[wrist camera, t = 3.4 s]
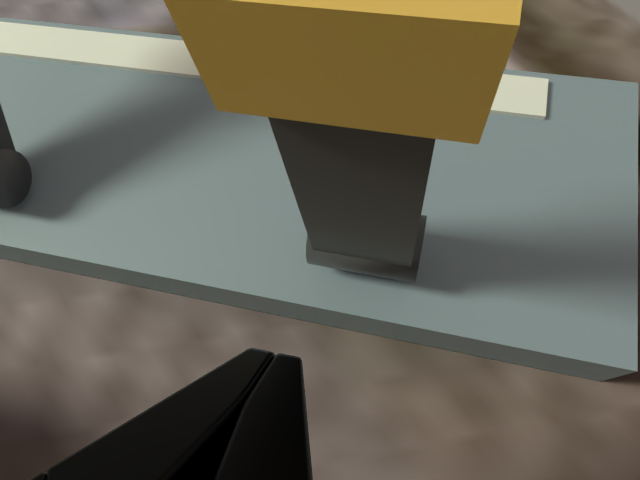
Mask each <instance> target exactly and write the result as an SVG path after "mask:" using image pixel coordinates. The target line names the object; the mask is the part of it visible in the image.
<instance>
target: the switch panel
mask: <svg viewBox="0 0 640 480" xmlns="http://www.w3.org/2000/svg"><path fill="white" fill-rule="evenodd" d="M0 104H1V107H2V110H3V113H4V116H5V119H6V122H7V125H8V129H9V132H10V135H11V138H12V141H13V144H14V147H15V150H16V151H17V152H19V153H21V154H22V155H23V156H24V157H25V158H26V159H27V161H28V163H29V165H30V168H31V172H32V182H31V187H30V190H29V192H28V194H27V196H26V197H25V199H24V200H23V201H22V202H21V203H20V204H18V205H16V206H14V207H11V208H2V207H0V258H2V259H6V260H11V261H16V262H21V263H26V264H31V265H36V266H40V267H45V268H50V269H55V270H60V271H65V272H70V273H75V274H79V275H84V276H89V277H94V278H99V279H104V280H109V281H114V282H118V283H123V284H128V285H133V286H138V287H143V288H148V289H152V290H157V291H162V292H167V293H172V294H177V295H182V296H187V297H191V298H196V299H201V300H206V301H211V302H216V303H221V304H226V305H230V306H235V307H240V308H245V309H250V310H255V311H260V312H265V313H269V314H274V315H279V316H284V317H289V318H294V319H299V320H303V321H308V322H313V323H318V324H323V325H328V326H333V327H338V328H342V329H347V330H352V331H357V332H362V333H367V334H372V335H377V336H381V337H386V338H391V339H396V340H401V341H406V342H411V343H416V344H420V345H425V346H430V347H435V348H440V349H445V350H450V351H454V352H459V353H464V354H469V355H474V356H479V357H484V358H489V359H493V360H498V361H503V362H508V363H513V364H518V365H523V366H528V367H532V368H537V369H542V370H547V371H552V372H557V373H562V374H566V375H571V376H576V377H581V378H586V379H591V380H596V381H604V380H608V379H611V378H615V377H619V376H623V375H626V374H630V373H634V372H638V83H634V82H624V81H614V80H605V79H595V78H585V77H575V76H566V75H556V74H546V73H536V72H527V71H517V70H507V69H504V72H503V75H502V78H501V81H500V84H499V87H498V90H497V93H496V96H495V99H494V101H493V104H492V107H491V110H490V113H489V116H488V119H487V122H486V125H485V128H484V131H483V134H482V137H481V140H480V142H479V145H478V144H470V143H463V142H455V141H447V140H440V139H436V140H435V145H434V150H433V155H432V160H431V166H430V171H429V176H428V181H427V186H426V192H425V197H424V202H423V207H422V212H421V215H426V216H427V220H426V226H425V233H424V239H423V245H422V250H421V256H420V262H419V267H418V272H417V277H416V282H415V283H411V282H405V281H400V280H394V279H389V278H383V277H378V276H372V275H367V274H362V273H356V272H351V271H345V270H340V269H334V268H329V267H323V266H318V265H312V264H308V263H307V260H306V241H307V231H306V228H305V225H304V222H303V220H302V217H301V214H300V211H299V208H298V205H297V202H296V199H295V196H294V193H293V190H292V187H291V184H290V181H289V178H288V175H287V172H286V169H285V166H284V163H283V160H282V157H281V154H280V152H279V149H278V146H277V143H276V140H275V137H274V134H273V131H272V128H271V125H270V122H269V119H268V117H263V116H256V115H248V114H240V113H233V112H225V111H217V109H216V107H215V105H214V103H213V101H212V99H211V97H210V95H209V93H208V90H207V88H206V86H205V84H204V82H203V80H202V78H201V76H200V74H199V72H198V70H197V68H196V66H195V64H194V62H193V60H192V57H191V55H190V53H189V51H188V49H187V47H186V45H185V43H184V41H183V39H182V37H181V36H176V35H167V34H157V33H147V32H138V31H128V30H118V29H108V28H99V27H89V26H79V25H69V24H60V23H50V22H40V21H31V20H21V19H11V18H1V17H0Z"/></svg>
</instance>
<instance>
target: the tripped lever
mask: <svg viewBox="0 0 640 480" xmlns="http://www.w3.org/2000/svg"><path fill="white" fill-rule="evenodd" d="M164 2H165V4H166V6H167V8H168V10H169V12H170V14H171V16H172V18H173V20H174V22H175V24H176V27H177V29H178V31H179V33H180V35H181V37H182V39H183V41H184V43H185V45H186V47H187V49H188V51H189V53H190V55H191V57H192V60H193V62H194V64H195V66H196V68H197V70H198V72H199V74H200V76H201V78H202V80H203V82H204V84H205V86H206V88H207V90H208V93H209V95H210V97H211V99H212V101H213V103H214V105H215V107H216V109H217V111H225V112H233V113H240V114H248V115H256V116H263V117H268V119H269V122H270V125H271V128H272V131H273V134H274V137H275V140H276V143H277V146H278V149H279V152H280V154H281V157H282V160H283V163H284V166H285V169H286V172H287V175H288V178H289V181H290V184H291V187H292V190H293V193H294V196H295V199H296V202H297V205H298V208H299V211H300V214H301V217H302V220H303V222H304V225H305V228H306V231H307V241H306V260H307V263H308V264H312V265H318V266H323V267H329V268H334V269H340V270H345V271H351V272H356V273H362V274H367V275H372V276H378V277H383V278H389V279H394V280H400V281H405V282H411V283H415V282H416V277H417V272H418V267H419V262H420V256H421V250H422V245H423V239H424V233H425V226H426V220H427V216H426V215H421V212H422V207H423V202H424V197H425V192H426V186H427V181H428V176H429V171H430V166H431V160H432V155H433V150H434V145H435V140H436V139H440V140H447V141H455V142H463V143H470V144H478V145H479V142H480V140H481V137H482V134H483V131H484V128H485V125H486V122H487V119H488V116H489V113H490V110H491V107H492V104H493V101H494V99H495V96H496V93H497V90H498V87H499V84H500V81H501V78H502V75H503V72H504V69H505V66H506V63H507V61H508V58H509V55H510V52H511V49H512V46H513V43H514V40H515V37H516V34H517V31H518V28H519V25H520V16H521V7H522V0H164Z"/></svg>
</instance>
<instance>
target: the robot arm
mask: <svg viewBox="0 0 640 480" xmlns="http://www.w3.org/2000/svg"><path fill="white" fill-rule="evenodd" d="M30 480H313V477H312V466H311V455H310V444H309V433H308V422H307V411H306V400H305V389H304V377H303V366H302V360H301V358H299V357H296V356H291V355H286V354H277V355H275V354H274V353H273V352H270V351H265V350H260V349H255V348H250V349H248V350H246V351H244V352H242V353H241V354H239V355H237V356H236V357H234V358H232V359H231V360H229V361H227V362H226V363H224V364H222V365H221V366H219V367H217V368H216V369H214V370H212V371H211V372H209V373H207V374H206V375H204V376H202V377H201V378H199V379H197V380H196V381H194V382H192V383H191V384H189V385H187V386H186V387H184V388H182V389H181V390H179V391H177V392H176V393H174V394H172V395H171V396H169V397H167V398H166V399H164V400H162V401H161V402H159V403H157V404H156V405H154V406H152V407H151V408H149V409H147V410H146V411H144V412H142V413H141V414H139V415H137V416H136V417H134V418H132V419H131V420H129V421H127V422H126V423H124V424H122V425H121V426H119V427H117V428H116V429H114V430H112V431H111V432H109V433H107V434H106V435H104V436H102V437H101V438H99V439H97V440H96V441H94V442H93V443H91V444H89V445H88V446H86V447H84V448H83V449H81V450H79V451H78V452H76V453H74V454H73V455H71V456H69V457H68V458H66V459H64V460H63V461H61V462H59V463H58V464H56V465H54V466H53V467H51V468H50V469H49V470H48V472H47V474H46V473H40V474H39V475H37V476H35V477H34V478H32V479H30Z"/></svg>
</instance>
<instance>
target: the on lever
mask: <svg viewBox="0 0 640 480" xmlns="http://www.w3.org/2000/svg"><path fill="white" fill-rule="evenodd" d="M31 182H32V172H31V168H30V165H29V163H28V161H27V159H26V158H25V157H24V156H23V155H22V154H21V153H19V152H17V151H16V150H15V147H14V144H13V141H12V138H11V135H10V132H9V129H8V125H7V122H6V119H5V116H4V113H3V110H2V107H1V104H0V207H2V208H11V207H14V206H16V205H18V204H20V203H21V202H22V201H23V200H24V199H25V197H26V196H27V194H28V192H29V190H30V187H31Z"/></svg>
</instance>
